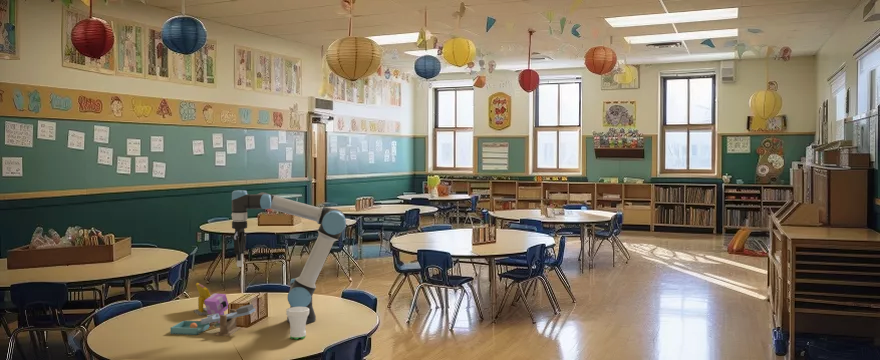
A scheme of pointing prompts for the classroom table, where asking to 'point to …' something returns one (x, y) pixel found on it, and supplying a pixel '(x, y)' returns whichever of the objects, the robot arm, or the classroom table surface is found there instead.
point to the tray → (186, 330)
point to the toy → (216, 304)
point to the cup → (297, 321)
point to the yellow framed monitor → (202, 299)
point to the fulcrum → (227, 325)
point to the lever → (240, 312)
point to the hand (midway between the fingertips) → (240, 266)
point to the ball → (193, 325)
